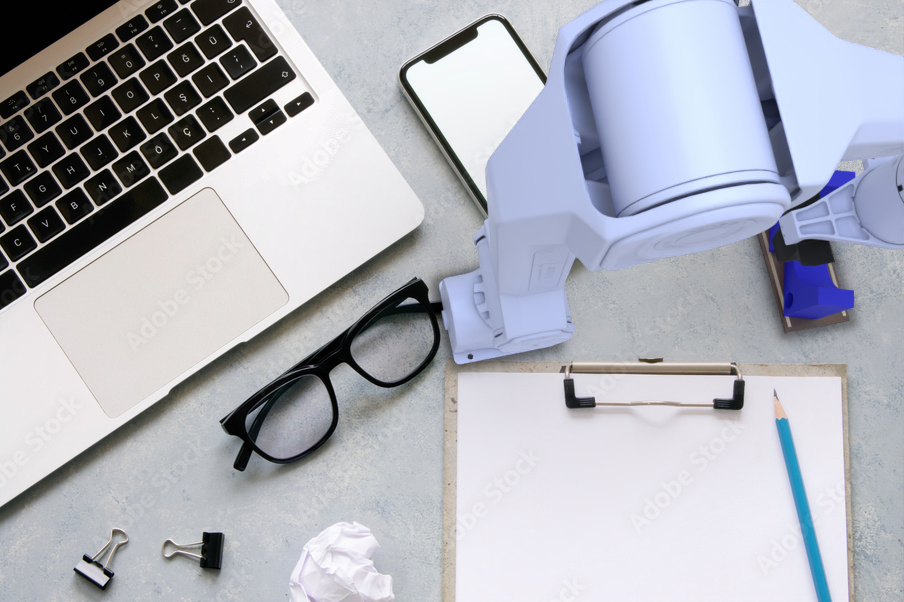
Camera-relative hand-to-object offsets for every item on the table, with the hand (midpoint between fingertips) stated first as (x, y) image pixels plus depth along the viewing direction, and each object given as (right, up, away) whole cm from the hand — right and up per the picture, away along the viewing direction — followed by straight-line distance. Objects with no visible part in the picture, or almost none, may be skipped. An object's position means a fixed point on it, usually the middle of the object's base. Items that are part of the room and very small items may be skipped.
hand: (824, 240), depth 61 cm
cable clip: (+2, 0, +9) cm, 9 cm away
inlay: (+3, 0, +9) cm, 10 cm away
